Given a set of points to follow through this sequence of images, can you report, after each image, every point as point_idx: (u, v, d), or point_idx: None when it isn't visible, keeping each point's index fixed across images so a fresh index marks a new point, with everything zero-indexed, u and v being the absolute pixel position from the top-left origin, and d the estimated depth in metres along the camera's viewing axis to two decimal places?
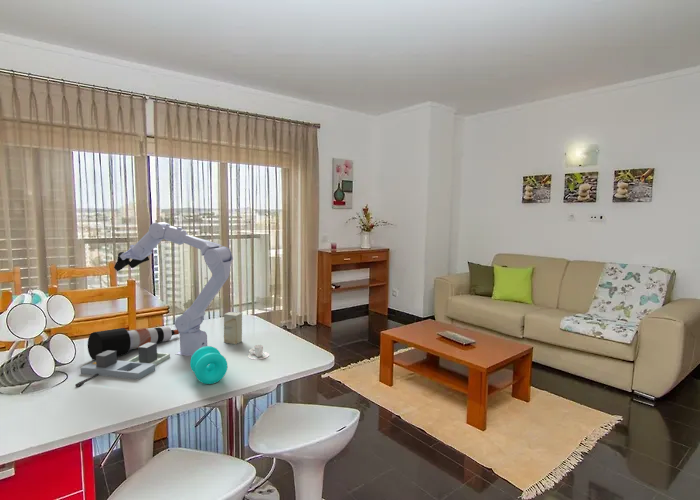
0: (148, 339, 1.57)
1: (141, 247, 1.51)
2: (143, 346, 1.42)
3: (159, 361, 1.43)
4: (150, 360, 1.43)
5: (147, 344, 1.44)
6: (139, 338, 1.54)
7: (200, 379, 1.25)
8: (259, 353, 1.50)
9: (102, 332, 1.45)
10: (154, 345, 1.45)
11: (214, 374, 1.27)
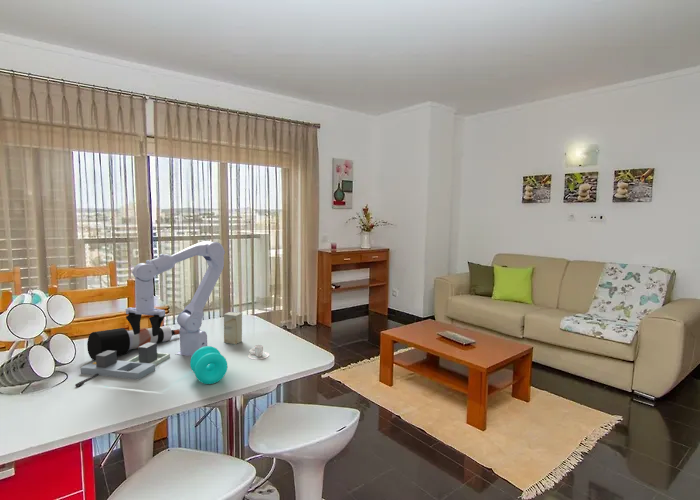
0: (148, 339, 1.57)
1: (152, 297, 1.42)
2: (143, 346, 1.42)
3: (159, 361, 1.43)
4: (150, 360, 1.43)
5: (147, 344, 1.44)
6: (139, 338, 1.54)
7: (200, 379, 1.25)
8: (259, 353, 1.50)
9: (101, 332, 1.45)
10: (154, 345, 1.45)
11: (214, 374, 1.27)
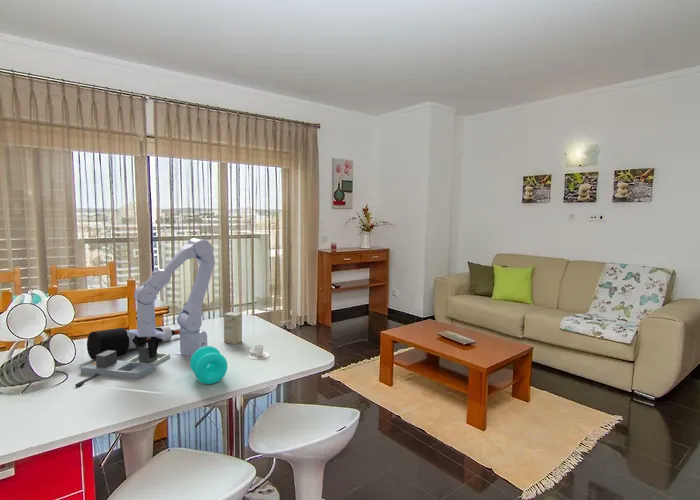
0: (147, 339, 1.57)
1: (154, 319, 1.43)
2: (143, 346, 1.42)
3: (159, 361, 1.43)
4: (150, 360, 1.43)
5: (147, 344, 1.44)
6: None
7: (200, 379, 1.25)
8: (259, 353, 1.50)
9: (101, 332, 1.45)
10: None
11: (214, 374, 1.27)
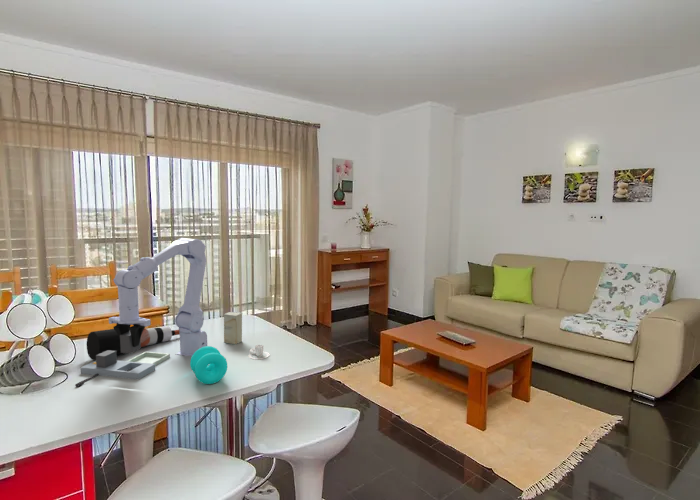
0: (147, 339, 1.57)
1: (137, 305, 1.33)
2: (125, 334, 1.33)
3: (159, 361, 1.43)
4: (133, 349, 1.33)
5: None
6: None
7: (200, 379, 1.25)
8: (260, 353, 1.50)
9: (100, 332, 1.45)
10: None
11: (214, 374, 1.27)
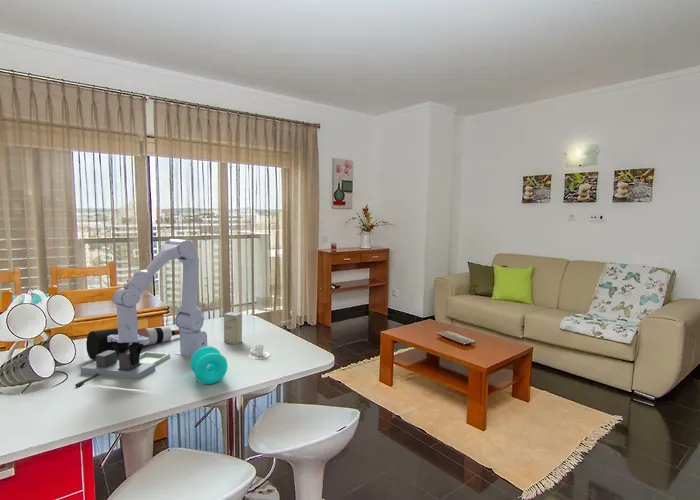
0: None
1: (136, 324, 1.33)
2: (124, 353, 1.32)
3: (159, 361, 1.43)
4: (132, 367, 1.33)
5: (128, 350, 1.34)
6: None
7: (200, 379, 1.25)
8: (260, 353, 1.51)
9: (99, 332, 1.45)
10: None
11: (214, 374, 1.27)
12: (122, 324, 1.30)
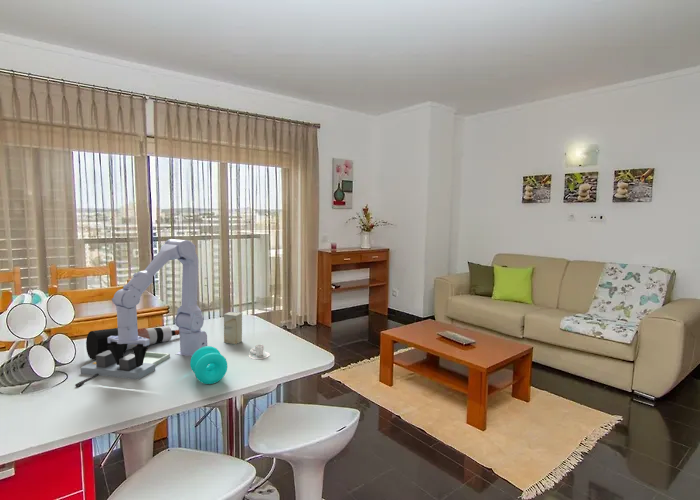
0: None
1: (136, 325, 1.33)
2: (124, 358, 1.32)
3: (159, 361, 1.43)
4: None
5: (129, 356, 1.34)
6: None
7: (200, 379, 1.25)
8: (260, 353, 1.51)
9: (99, 331, 1.45)
10: None
11: (214, 374, 1.27)
12: (122, 325, 1.30)
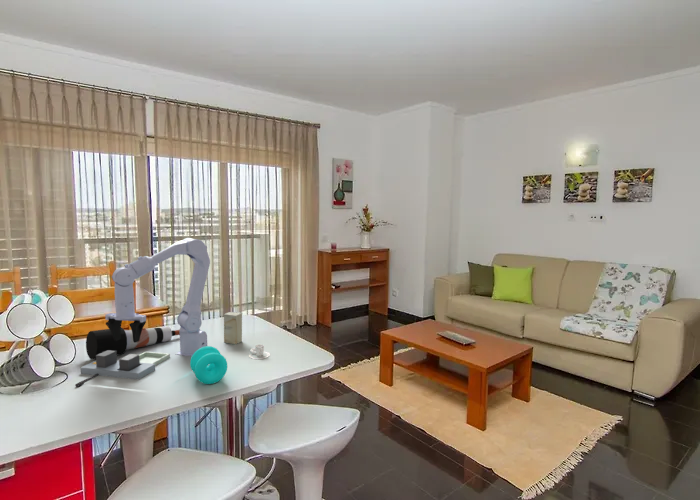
0: (146, 339, 1.57)
1: (133, 302, 1.38)
2: (124, 358, 1.32)
3: (159, 361, 1.43)
4: None
5: (129, 356, 1.34)
6: None
7: (200, 379, 1.25)
8: (260, 353, 1.51)
9: (98, 331, 1.46)
10: (136, 357, 1.35)
11: (214, 374, 1.27)
12: (117, 302, 1.35)
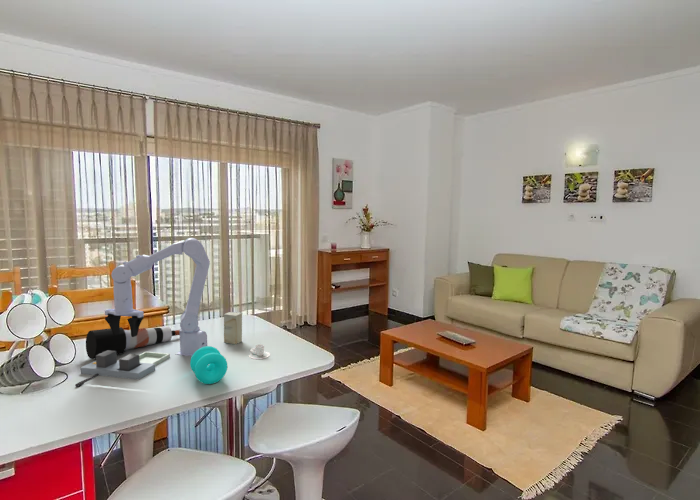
0: (146, 339, 1.57)
1: (131, 298, 1.44)
2: (124, 358, 1.32)
3: (159, 361, 1.43)
4: None
5: (129, 356, 1.34)
6: (136, 338, 1.55)
7: (200, 379, 1.25)
8: (260, 353, 1.51)
9: (98, 331, 1.46)
10: (136, 357, 1.35)
11: (214, 374, 1.27)
12: (114, 298, 1.41)
